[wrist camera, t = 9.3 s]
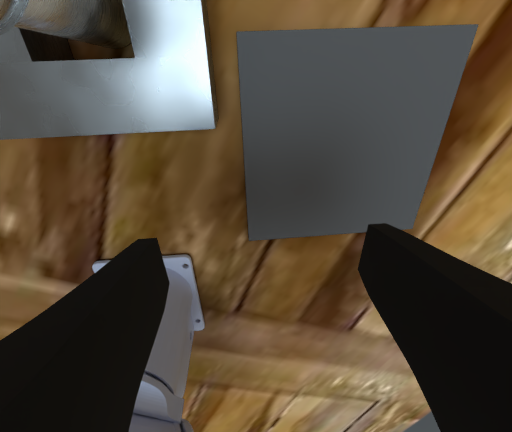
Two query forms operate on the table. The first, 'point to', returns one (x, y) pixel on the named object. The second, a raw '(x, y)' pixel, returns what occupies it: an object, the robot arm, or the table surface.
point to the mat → (344, 124)
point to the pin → (69, 19)
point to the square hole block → (112, 78)
